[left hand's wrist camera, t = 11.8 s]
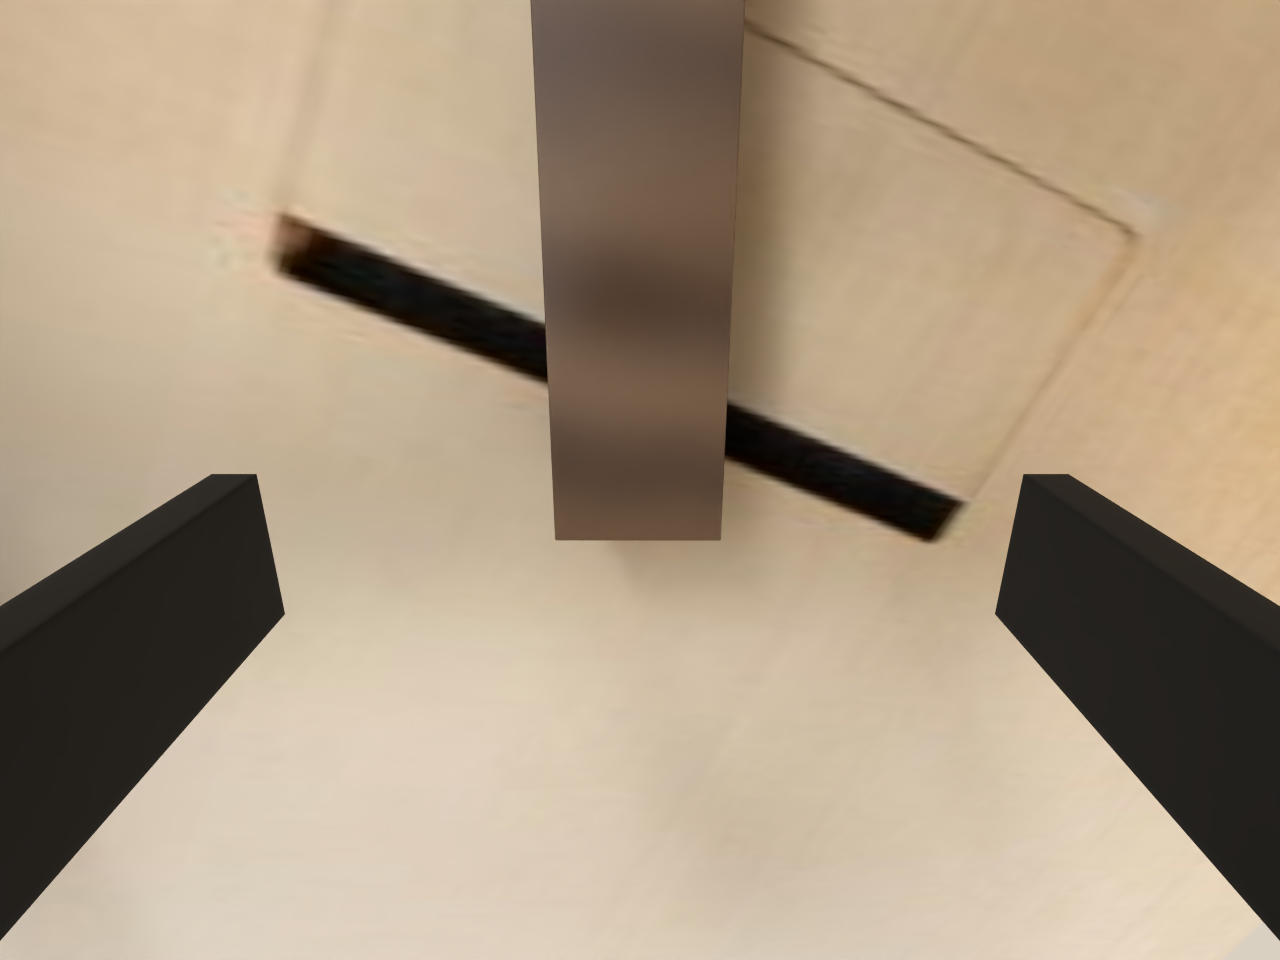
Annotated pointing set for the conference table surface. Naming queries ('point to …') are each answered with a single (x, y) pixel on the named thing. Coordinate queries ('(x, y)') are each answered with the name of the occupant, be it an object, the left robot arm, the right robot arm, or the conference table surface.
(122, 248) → the conference table surface
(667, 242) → the post
